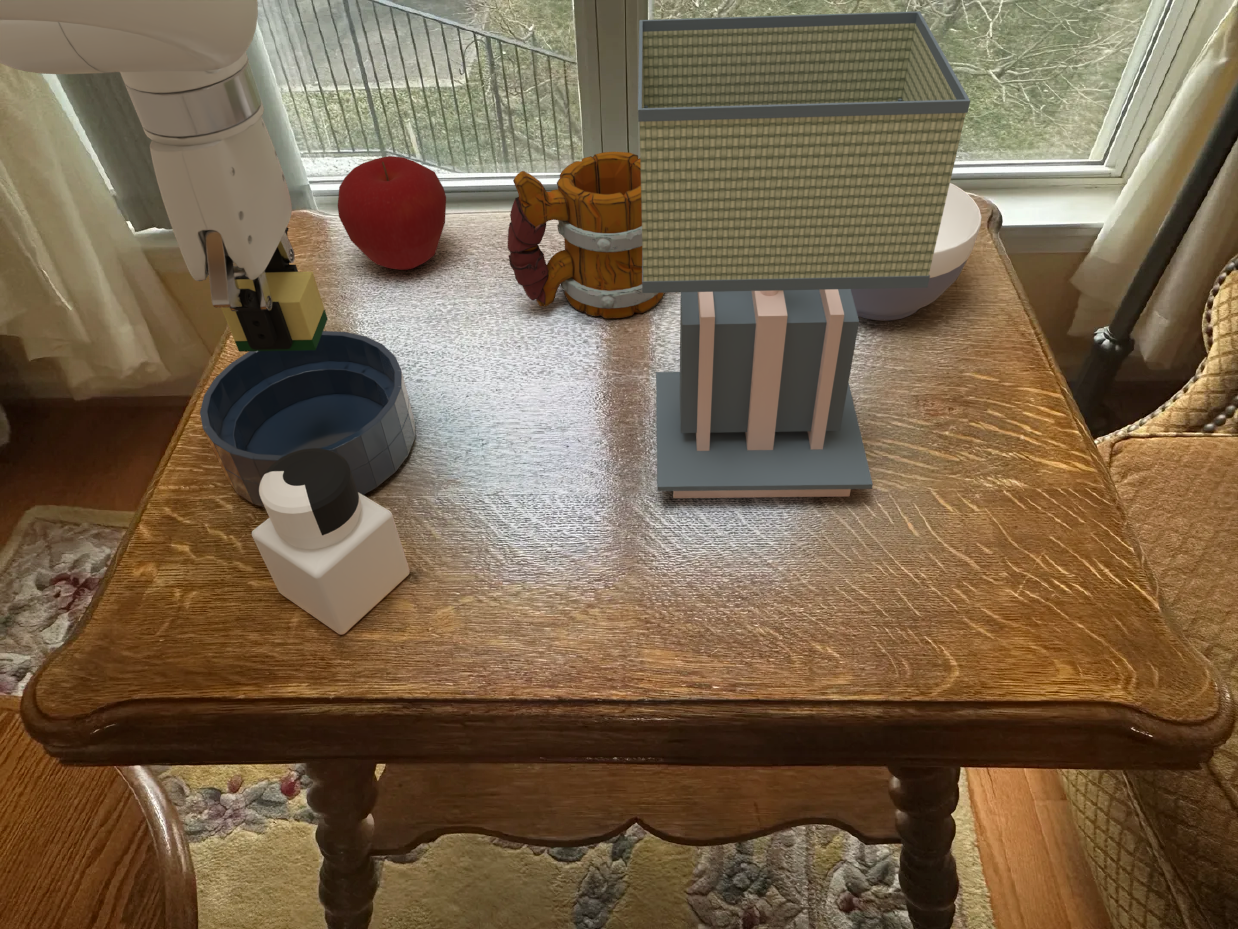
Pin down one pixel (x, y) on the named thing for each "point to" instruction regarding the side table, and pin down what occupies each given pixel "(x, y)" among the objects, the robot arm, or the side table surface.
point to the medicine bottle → (327, 539)
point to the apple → (393, 211)
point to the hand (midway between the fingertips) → (280, 325)
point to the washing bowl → (310, 410)
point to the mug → (584, 237)
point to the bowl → (945, 268)
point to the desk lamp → (783, 230)
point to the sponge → (288, 309)
